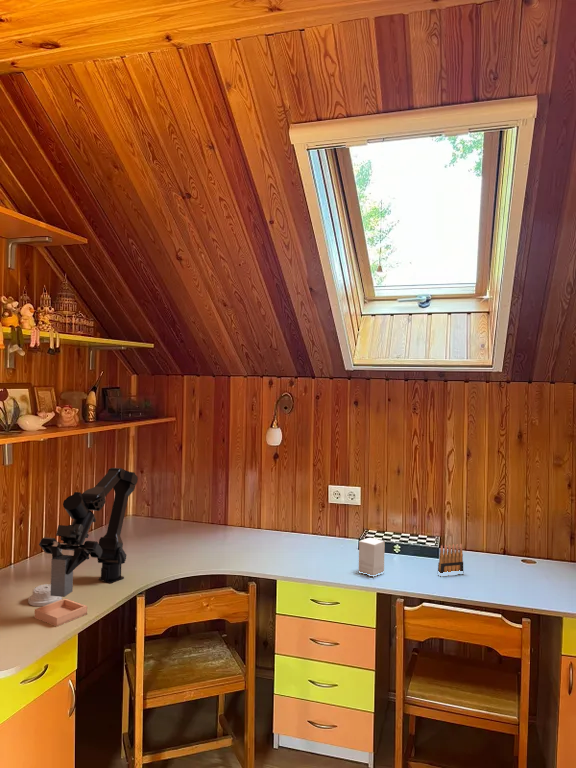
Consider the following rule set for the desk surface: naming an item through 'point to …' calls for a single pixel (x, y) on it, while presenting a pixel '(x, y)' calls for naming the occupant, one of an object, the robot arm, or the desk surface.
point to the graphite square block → (61, 576)
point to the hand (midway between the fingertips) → (59, 573)
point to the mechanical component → (42, 596)
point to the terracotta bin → (60, 612)
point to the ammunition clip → (450, 559)
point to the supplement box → (371, 556)
